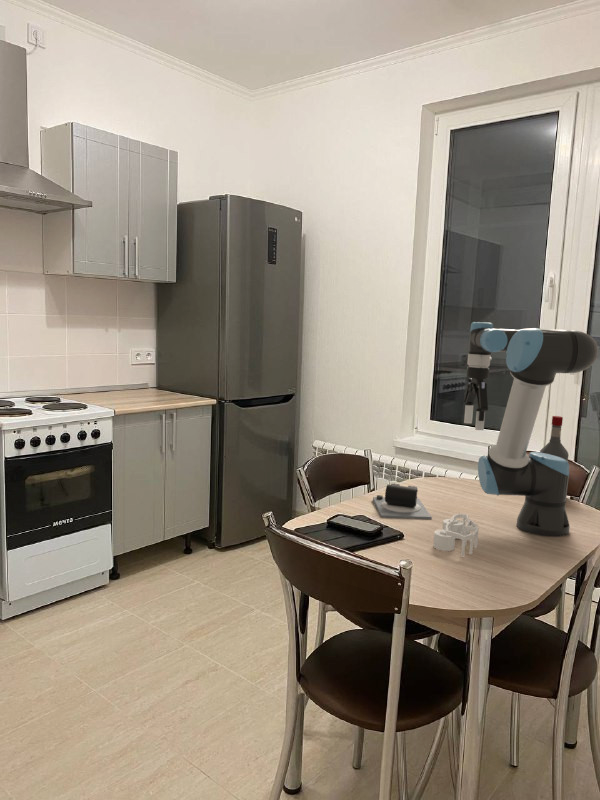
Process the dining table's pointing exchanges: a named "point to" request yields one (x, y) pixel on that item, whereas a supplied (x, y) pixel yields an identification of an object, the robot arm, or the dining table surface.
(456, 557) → the dining table surface
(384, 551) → the dining table surface
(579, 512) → the dining table surface
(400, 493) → the end cap
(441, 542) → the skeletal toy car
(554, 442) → the liquor
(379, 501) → the plate
